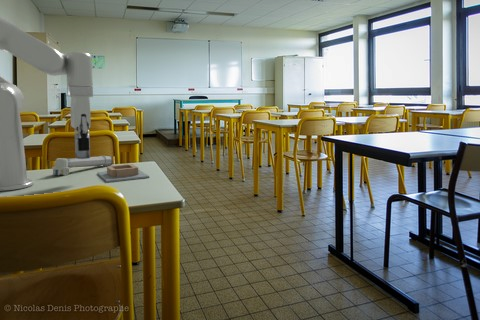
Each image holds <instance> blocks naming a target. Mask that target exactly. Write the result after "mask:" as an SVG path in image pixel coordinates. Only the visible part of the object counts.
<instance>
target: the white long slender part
mask: <svg viewBox="0 0 480 320" xmlns="http://www.w3.org/2000/svg"><path fill="white" fill-rule="evenodd" d="M113 163H114V159H113V157H112V156H109V155H107V156H105V155H100V156H90V158H87V159H77V158H76V157H75V158H64V157H63V158H61V157H60V158H55V161H54V166H52V167H51V169H52V171H53V172H52V175H54V176H60V175H62V176H68V175H70V170H71V168H81V167H84V168H85V167H101V166H100V165H103V166H104V167H108V165H109V166H113ZM103 166H102V167H103Z"/></svg>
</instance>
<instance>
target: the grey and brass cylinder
mask: <svg viewBox="0 0 480 320" xmlns="http://www.w3.org/2000/svg"><path fill="white" fill-rule="evenodd" d="M88 136H89V137H88V138H89V150H88V151H79V150H78V138H79V132H78V130H76V129H74V145H75V146H74V147H75V148H74V149H75V158H77V159H87V158H90V157H91V145H90V142H91V140H90V138H91V137H90V129H88Z"/></svg>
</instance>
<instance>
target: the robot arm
mask: <svg viewBox="0 0 480 320" xmlns="http://www.w3.org/2000/svg"><path fill="white" fill-rule="evenodd" d="M0 50H1V51H3V52H5V53H8V54H10V55H12V56H13V57H16V58H17V59H19V60H21V61H23V62H25V63H26V64H28V65H30V66H32V67H33V68H35V69H37V70H39V71H40V72H42V73H44V74H46V75H48V76H63V75H64V76H65V75H66V90H67V91H66V92H67V97H68V98H70V127H72V128H73V129H74V130H78V132H79V138H78V150H79V151H88V150H89V138H88V137H90V135H89V136H88V130H89V129H90V128H91V120H92V119H91V118H92V117H91V103H90V102H91V101H90V99H91V98H94V87H93V86H94V85H93V66H92V65H93V61H92V55H91V54H90V53H88V52H84V51H69V52H61V51H60V52H59V51H58V50H57V49H55V48H54V47H52V46H51V45H48V44H46V43H45V42H44V41H41V40H40V39H38V38H36V37H34V36H33V35H31V34H30V33H29V32H26V31H24V30H23V29H21V28H20V26H18V25H16V24H14V23H13V22H11V21H10V20H8V19H6V18H5V17H3V16H1V15H0ZM24 103H25V97H24V94H23V92H22V90H21V89H20V88H19V87H17V86H16V85H15V84H13V83H12V82H11V81H9V80H8V79H6V78H5V77H4V76H2V75H1V74H0V191H1V192H3V191H5V192H6V191H13V190H20V189H25V188H29V187H31V186H33V184H34V181H33V180H32V179H30V178H28V175H27V174H28V173H27V165H26V164H27V163H26V154H25V144H24V135H23V127H22V120H21V119H22V118H21V115H20V114H21V113H20V110H21V109H22V107H23V106H24Z"/></svg>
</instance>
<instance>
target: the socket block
mask: <svg viewBox="0 0 480 320" xmlns="http://www.w3.org/2000/svg"><path fill="white" fill-rule="evenodd" d="M96 172H97V171H96ZM97 175H98V176H100V178H101V179H102V180H103V181H105V183H114V182H122V181H123V182H124V181H131V180H141V179H149V178H150V175H148V174H147V173H145V172H143V171H142V170H141V169H139V166H136V165H135V164H132V163H130V164H126V163H125V164H117V165H116V164H115V165H109V166H106V171H98V172H97Z"/></svg>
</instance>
